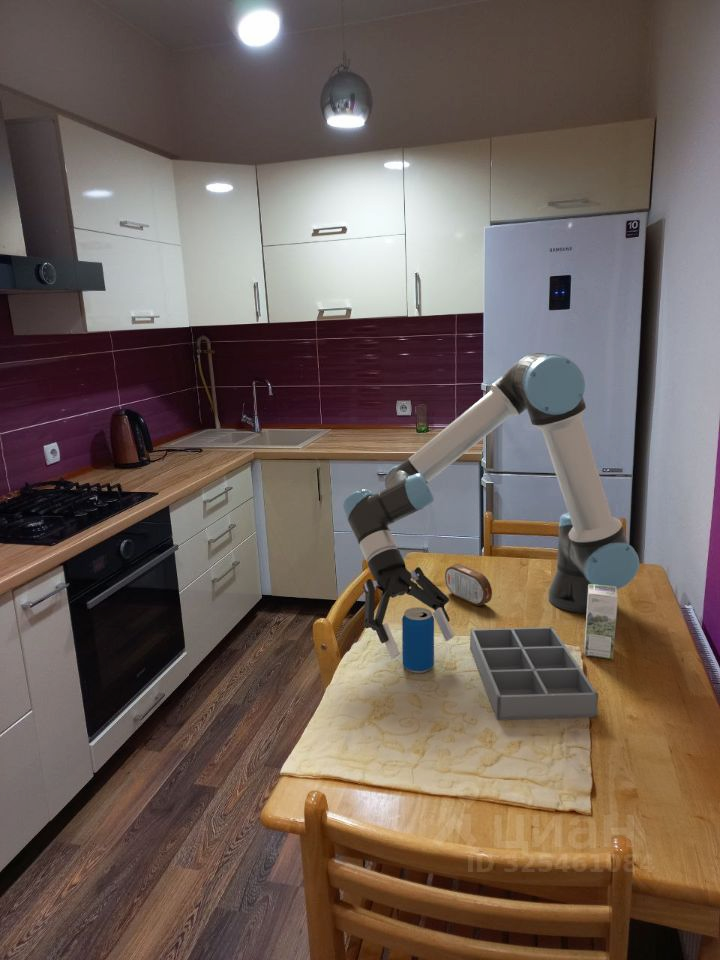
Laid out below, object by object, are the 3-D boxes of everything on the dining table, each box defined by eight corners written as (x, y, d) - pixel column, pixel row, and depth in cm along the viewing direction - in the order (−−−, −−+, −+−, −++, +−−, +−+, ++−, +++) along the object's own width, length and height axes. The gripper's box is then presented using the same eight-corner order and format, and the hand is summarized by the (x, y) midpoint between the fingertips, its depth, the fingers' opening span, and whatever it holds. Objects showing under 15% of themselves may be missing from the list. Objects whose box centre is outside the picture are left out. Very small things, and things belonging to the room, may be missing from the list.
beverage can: (432, 676, 129) (432, 621, 127) (400, 673, 131) (400, 619, 128) (435, 660, 135) (435, 607, 133) (404, 657, 137) (404, 605, 134)
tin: (492, 608, 160) (493, 576, 158) (483, 611, 158) (484, 579, 156) (451, 589, 172) (452, 559, 170) (442, 591, 171) (443, 561, 169)
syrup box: (612, 647, 139) (616, 584, 136) (613, 660, 134) (618, 595, 130) (584, 643, 141) (588, 582, 138) (584, 656, 136) (588, 592, 132)
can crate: (551, 645, 140) (552, 627, 139) (596, 716, 115) (598, 694, 114) (470, 648, 140) (470, 629, 139) (497, 719, 114) (497, 697, 113)
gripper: (422, 553, 148) (463, 638, 139) (326, 575, 136) (364, 670, 127) (436, 537, 143) (479, 624, 133) (337, 559, 130) (378, 657, 121)
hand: (423, 647), depth 130 cm, fingers open, 13 cm apart
